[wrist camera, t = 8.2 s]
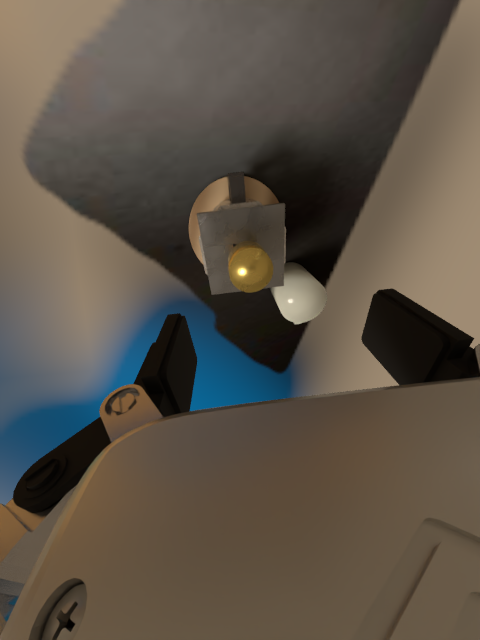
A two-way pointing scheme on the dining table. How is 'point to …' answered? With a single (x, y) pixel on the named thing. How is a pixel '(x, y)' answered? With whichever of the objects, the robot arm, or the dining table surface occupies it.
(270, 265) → the plunger
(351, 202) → the dining table surface
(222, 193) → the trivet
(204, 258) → the grey handled container
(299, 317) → the mug
